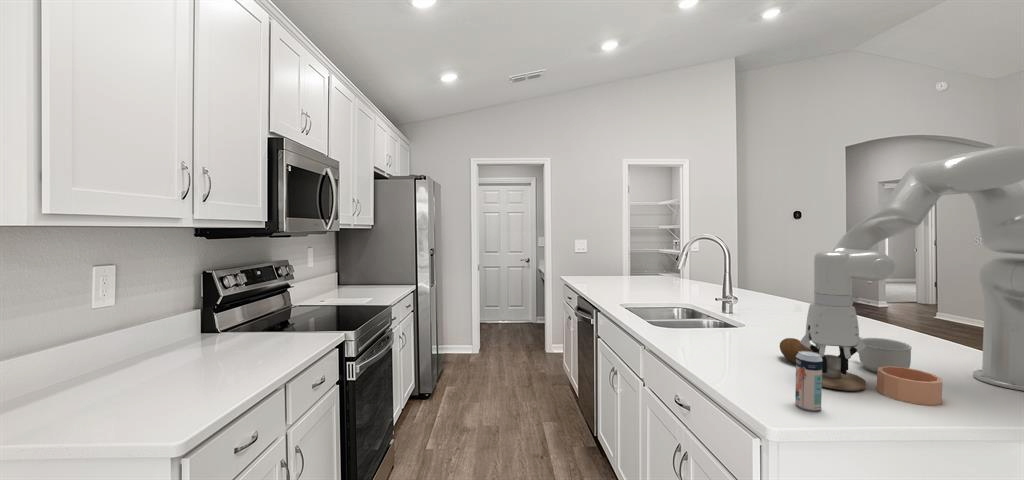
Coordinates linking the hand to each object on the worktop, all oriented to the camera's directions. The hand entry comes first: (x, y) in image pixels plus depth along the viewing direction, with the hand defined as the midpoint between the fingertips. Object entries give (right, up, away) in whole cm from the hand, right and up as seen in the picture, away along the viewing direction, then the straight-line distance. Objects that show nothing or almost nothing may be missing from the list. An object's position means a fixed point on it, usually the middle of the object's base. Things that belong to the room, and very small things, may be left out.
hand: (831, 371), depth 104 cm
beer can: (-16, -4, -14) cm, 22 cm away
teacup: (+20, -3, +10) cm, 23 cm away
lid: (0, -2, 0) cm, 2 cm away
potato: (+1, -3, +15) cm, 16 cm away
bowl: (+12, -3, -8) cm, 15 cm away
